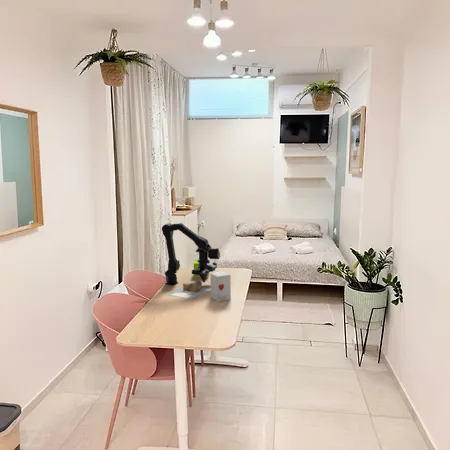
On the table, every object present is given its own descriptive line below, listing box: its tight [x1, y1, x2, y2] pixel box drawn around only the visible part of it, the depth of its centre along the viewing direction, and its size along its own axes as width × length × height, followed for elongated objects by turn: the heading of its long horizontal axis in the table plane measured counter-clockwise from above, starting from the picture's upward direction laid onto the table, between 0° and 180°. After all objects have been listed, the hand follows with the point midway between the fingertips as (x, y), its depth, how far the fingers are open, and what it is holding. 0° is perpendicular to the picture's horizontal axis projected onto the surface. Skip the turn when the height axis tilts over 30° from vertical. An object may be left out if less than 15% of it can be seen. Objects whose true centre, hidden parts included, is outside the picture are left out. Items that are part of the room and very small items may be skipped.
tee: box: [182, 280, 203, 293], centre depth 270 cm, size 10×10×4 cm
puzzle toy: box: [193, 259, 210, 279], centre depth 302 cm, size 10×10×10 cm
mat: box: [166, 287, 211, 300], centre depth 265 cm, size 18×22×1 cm
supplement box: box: [209, 271, 232, 303], centre depth 250 cm, size 9×9×15 cm
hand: (204, 282), depth 279 cm, fingers closed
